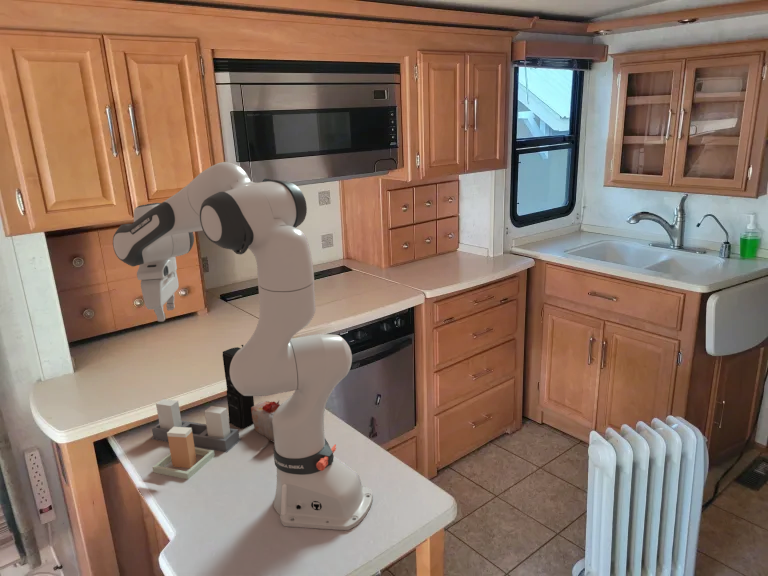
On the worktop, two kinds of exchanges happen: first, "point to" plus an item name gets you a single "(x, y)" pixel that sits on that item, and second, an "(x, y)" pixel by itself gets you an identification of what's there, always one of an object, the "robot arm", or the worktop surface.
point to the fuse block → (197, 426)
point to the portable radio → (236, 396)
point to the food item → (264, 418)
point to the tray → (179, 473)
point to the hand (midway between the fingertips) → (166, 315)
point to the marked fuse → (182, 447)
